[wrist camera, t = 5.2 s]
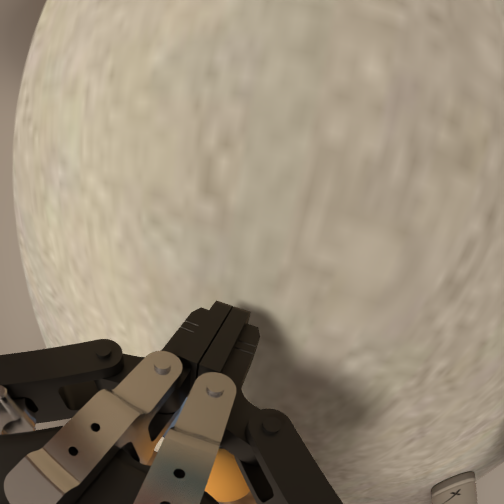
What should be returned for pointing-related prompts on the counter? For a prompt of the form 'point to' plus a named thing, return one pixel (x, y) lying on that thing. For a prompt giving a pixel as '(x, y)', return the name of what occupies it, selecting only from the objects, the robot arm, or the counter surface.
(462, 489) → the travel mug
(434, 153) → the counter surface
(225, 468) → the ball
